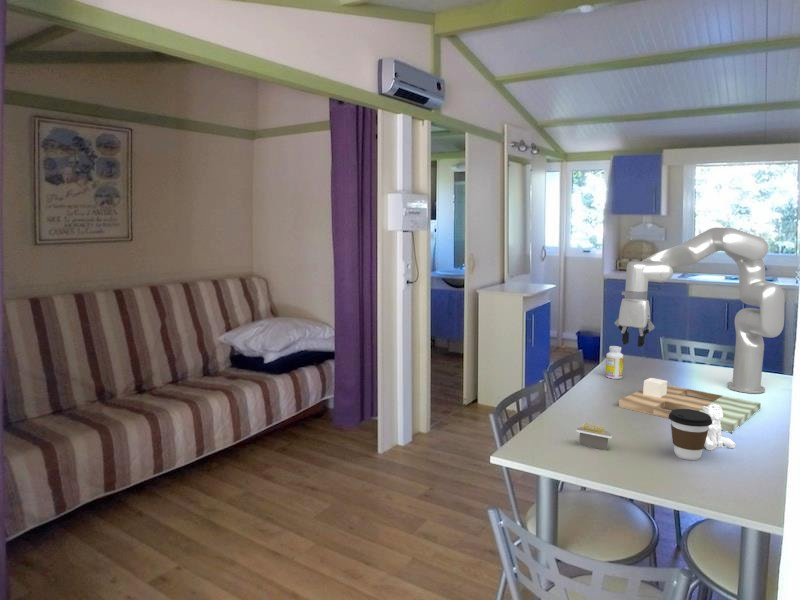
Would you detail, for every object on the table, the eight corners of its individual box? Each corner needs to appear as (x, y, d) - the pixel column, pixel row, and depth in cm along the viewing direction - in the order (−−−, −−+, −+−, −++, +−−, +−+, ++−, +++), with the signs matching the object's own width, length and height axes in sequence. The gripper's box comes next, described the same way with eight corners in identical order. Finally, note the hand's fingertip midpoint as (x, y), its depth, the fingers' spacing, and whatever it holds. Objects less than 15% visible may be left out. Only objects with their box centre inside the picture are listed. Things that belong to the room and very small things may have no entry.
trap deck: (655, 388, 234) (655, 382, 234) (760, 409, 210) (760, 402, 209) (618, 406, 212) (619, 399, 211) (731, 432, 187) (732, 425, 186)
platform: (569, 435, 185) (570, 414, 184) (631, 447, 175) (632, 426, 174) (556, 447, 175) (557, 426, 174) (621, 461, 165) (622, 438, 164)
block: (649, 390, 223) (650, 377, 222) (666, 394, 219) (667, 380, 218) (643, 394, 218) (643, 380, 218) (659, 397, 214) (660, 384, 214)
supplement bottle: (620, 375, 254) (621, 345, 252) (624, 379, 247) (626, 348, 246) (603, 375, 255) (605, 345, 253) (607, 379, 248) (609, 348, 246)
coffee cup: (689, 466, 161) (692, 423, 160) (657, 451, 171) (660, 410, 169) (718, 460, 165) (722, 417, 164) (685, 446, 175) (688, 406, 174)
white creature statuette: (707, 451, 172) (711, 410, 170) (687, 440, 180) (690, 401, 178) (736, 449, 174) (740, 408, 172) (715, 438, 182) (718, 399, 180)
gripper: (608, 294, 223) (606, 343, 226) (655, 299, 212) (652, 350, 214) (618, 292, 229) (615, 340, 231) (663, 297, 217) (660, 347, 219)
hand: (633, 344), depth 222 cm, fingers open, 4 cm apart
